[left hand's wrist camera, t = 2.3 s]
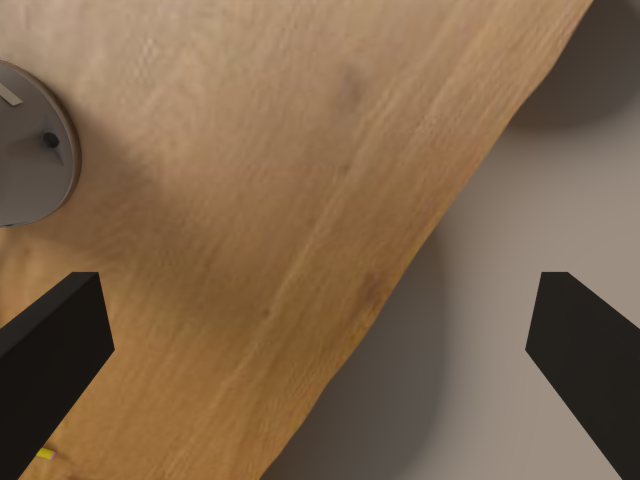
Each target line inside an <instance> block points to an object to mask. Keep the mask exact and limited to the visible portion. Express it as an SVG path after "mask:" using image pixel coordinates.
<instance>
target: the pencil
mask: <svg viewBox="0 0 640 480" xmlns="http://www.w3.org/2000/svg"><path fill="white" fill-rule="evenodd" d="M56 453H57V452H55V451H52V450H49V449H46V448H43V447H42V448H41V449H40V450H39V452H38V453H37V454H36V455H37V456H40V457H43V458H46V459H49V460H53V458H54V457H55V455H56Z"/></svg>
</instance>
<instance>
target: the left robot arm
mask: <svg viewBox="0 0 640 480" xmlns="http://www.w3.org/2000/svg"><path fill="white" fill-rule="evenodd" d="M80 170H81V151H80V145H79V141H78V137H77V134H76V131H75V128H74V126H73V124H72V122H71V119H70V118H69V116H68V114H67V112H66V111H65V109H64V108H63V106H62V105H61V103H60V102H59V101H58V100H57V98H56V97H55V96H54V95H53V94H52V93H51V92H50V91H49V89H48V88H46V87H45V86H44V85H43V84H42V83H41V82H40V81H38V80H37V79H36V78H35V77H33V76H32V75H30V74H29V73H27V72H26V71H24V70H22V69H20V68H19V67H17V66H15V65H12V64H10V63H8V62H5V61H2V60H0V227H15V226H21V225H25V224H29V223H32V222H35V221H38V220H40V219H42V218H44V217H46V216H48V215H50V214H52V213H54V212H55V211H57V210H58V209H59V208H61V207H62V206H63V205H64V204H65V203H66V202H67V201H68V199H69V198H70V197H71V195H72V194H73V192H74V190H75V188H76V186H77V183H78V180H79V176H80ZM114 350H115V348H114V344H113V339H112V334H111V330H110V325H109V320H108V316H107V311H106V306H105V301H104V297H103V292H102V287H101V283H100V278H99V273H98V272H72V273H70V274H69V275H68V276H67V277H65V278H64V279H63V280H62V281H60V282H59V283H58V284H57V285H55V286H54V287H53V288H52V289H50V290H49V291H48V292H46V293H45V294H44V295H43V296H41V297H40V298H39V299H38V300H36V301H35V302H34V303H33V304H31V305H30V306H29V307H28V308H26V309H25V310H24V311H22V312H21V313H20V314H19V315H17V316H16V317H15V318H14V319H12V320H11V321H10V322H9V323H7V324H6V325H5V326H4V327H2V328H1V329H0V480H18V478H19V477H20V476H21V474H22V473H23V472H24V470H25V469H26V468H27V466H28V465H29V464H30V462H31V461H32V460H33V458H34V457H35V456H36V454H37V453H38V452H39V450H40V449H41V448H42V446H43V445H44V444H45V442H46V441H47V440H48V438H49V437H50V436H51V434H52V433H53V432H54V430H55V429H56V428H57V426H58V425H59V424H60V422H61V421H62V420H63V418H64V417H65V416H66V414H67V413H68V412H69V410H70V409H71V408H72V406H73V405H74V404H75V402H76V401H77V400H78V398H79V397H80V396H81V394H82V393H83V392H84V390H85V389H86V388H87V386H88V385H89V384H90V382H91V381H92V380H93V378H94V377H95V376H96V374H97V373H98V372H99V370H100V369H101V368H102V366H103V365H104V364H105V362H106V361H107V360H108V358H109V357H110V356H111V354H112V353H113V352H114ZM525 350H526V352H527V353H528V354H529V356H530V357H531V358H532V360H533V361H534V362H535V364H536V365H537V366H538V368H539V369H540V370H541V372H542V373H543V374H544V376H545V377H546V378H547V380H548V381H549V382H550V384H551V385H552V386H553V388H554V389H555V390H556V392H557V393H558V394H559V396H560V397H561V398H562V400H563V401H564V402H565V404H566V405H567V406H568V408H569V409H570V410H571V412H572V413H573V414H574V416H575V417H576V418H577V420H578V421H579V422H580V424H581V425H582V426H583V428H584V429H585V430H586V432H587V433H588V434H589V436H590V437H591V438H592V440H593V441H594V442H595V444H596V445H597V446H598V448H599V449H600V450H601V452H602V453H603V454H604V456H605V457H606V458H607V460H608V461H609V462H610V464H611V465H612V466H613V468H614V469H615V470H616V472H617V473H618V474H619V476H620V477H621V478H622V480H640V329H639V328H638V327H636V326H635V325H634V324H633V323H631V322H630V321H629V320H628V319H626V318H625V317H624V316H622V315H621V314H620V313H619V312H617V311H616V310H615V309H614V308H612V307H611V306H610V305H609V304H607V303H606V302H605V301H604V300H602V299H601V298H600V297H599V296H597V295H596V294H595V293H594V292H592V291H591V290H590V289H588V288H587V287H586V286H585V285H583V284H582V283H581V282H580V281H578V280H577V279H576V278H575V277H573V276H572V275H571V274H569V273H568V272H542V273H541V278H540V283H539V287H538V292H537V297H536V301H535V306H534V311H533V316H532V320H531V325H530V330H529V335H528V339H527V344H526V348H525Z"/></svg>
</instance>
